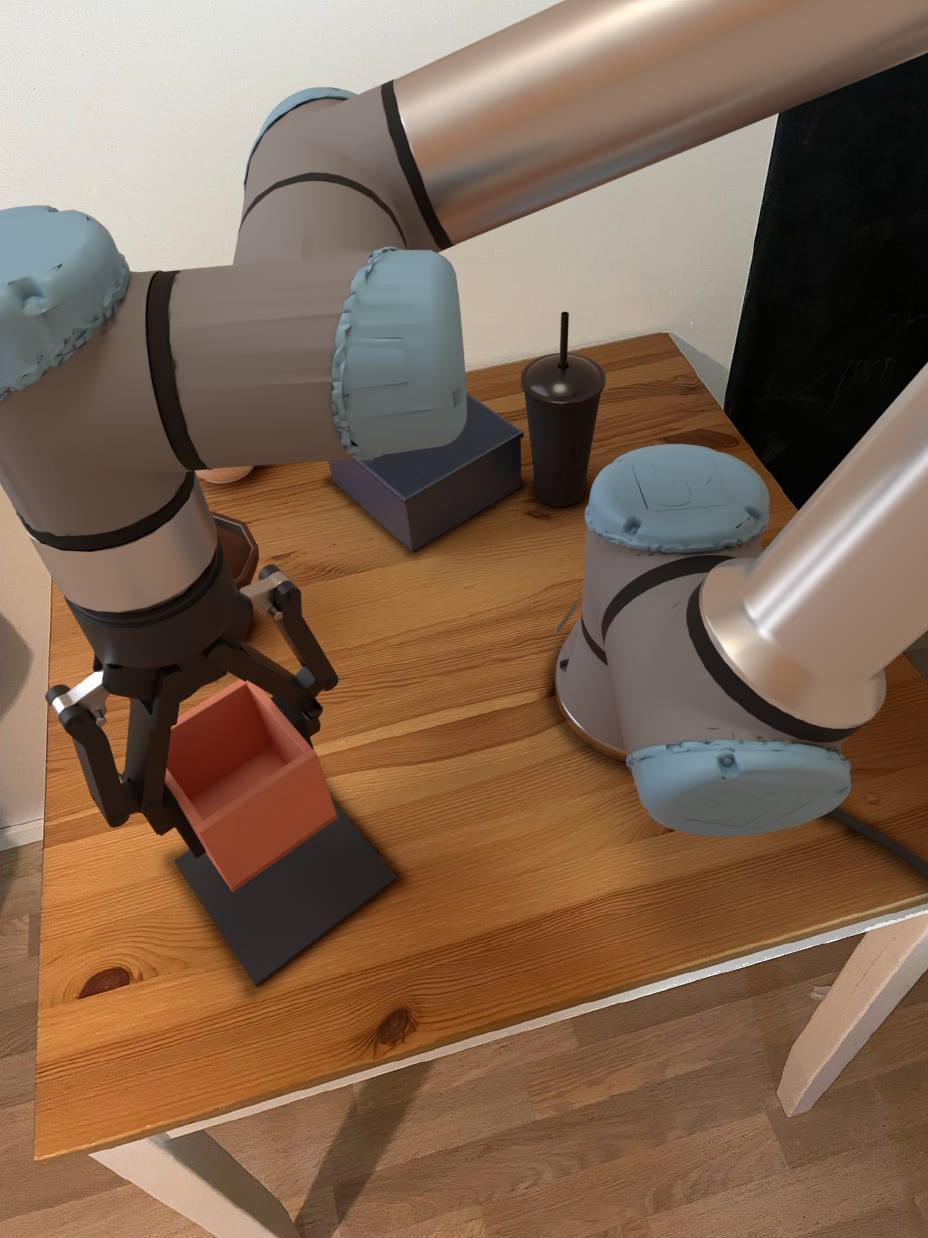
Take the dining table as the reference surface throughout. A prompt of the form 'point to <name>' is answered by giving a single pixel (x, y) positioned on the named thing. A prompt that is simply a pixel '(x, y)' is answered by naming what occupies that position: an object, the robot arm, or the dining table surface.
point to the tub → (246, 781)
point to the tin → (437, 478)
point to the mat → (290, 896)
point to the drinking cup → (561, 419)
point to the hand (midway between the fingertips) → (250, 800)
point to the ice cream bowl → (238, 549)
